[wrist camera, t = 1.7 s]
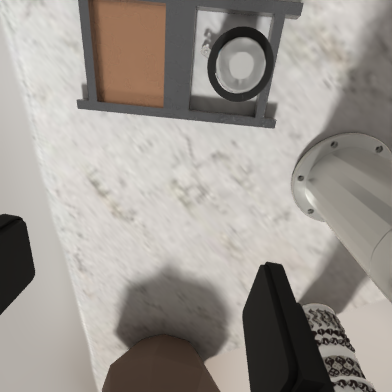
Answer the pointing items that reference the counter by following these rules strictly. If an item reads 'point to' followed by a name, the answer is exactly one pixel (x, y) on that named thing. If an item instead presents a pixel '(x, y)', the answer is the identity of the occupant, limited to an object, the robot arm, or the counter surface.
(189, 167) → the counter surface
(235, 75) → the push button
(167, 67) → the rail
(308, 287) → the counter surface
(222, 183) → the counter surface
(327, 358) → the decorative candle
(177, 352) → the brown cauldron
